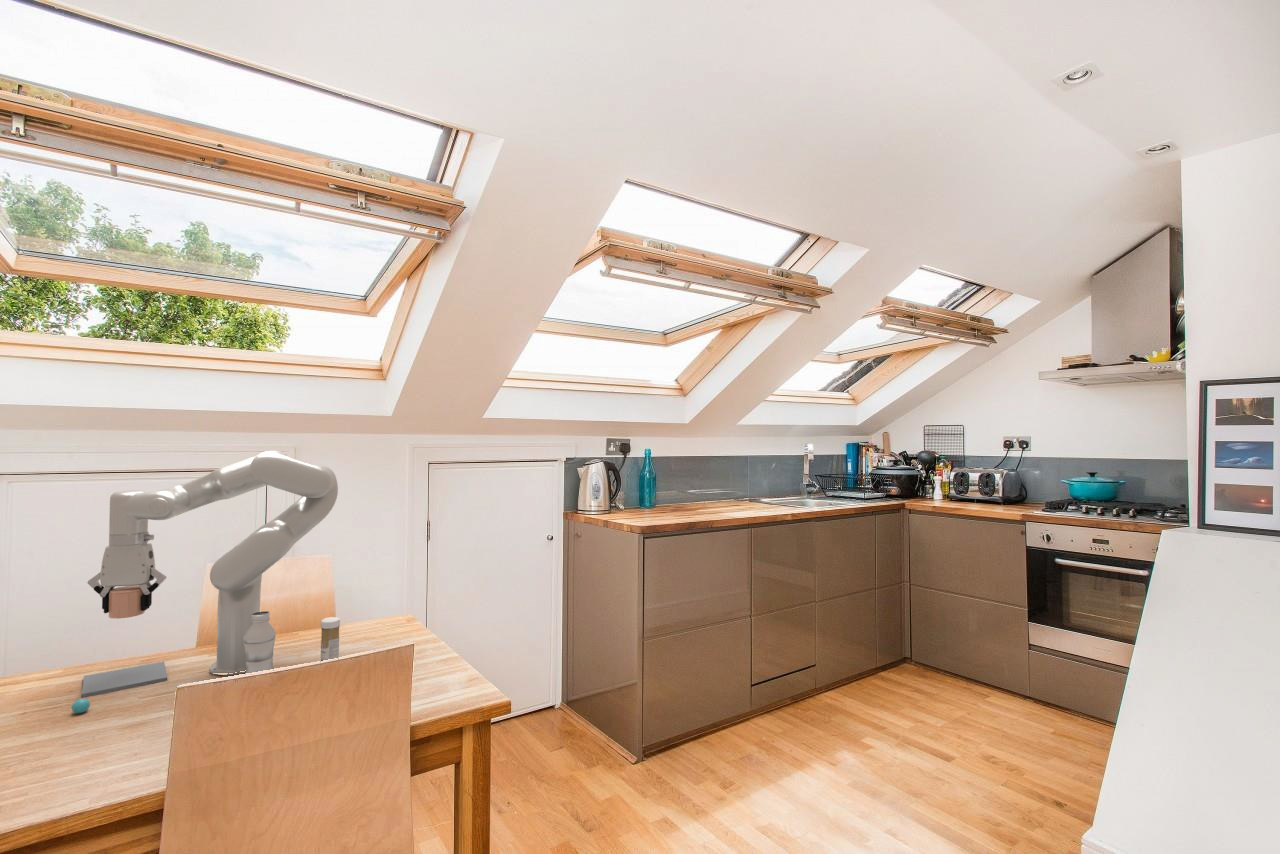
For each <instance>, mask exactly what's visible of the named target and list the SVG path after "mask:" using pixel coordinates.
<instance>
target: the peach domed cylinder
mask: <svg viewBox="0 0 1280 854" xmlns="http://www.w3.org/2000/svg"><path fill="white" fill-rule="evenodd" d="M142 595H143V591H142V590H141V588H140V587H139V585H133V586H117V587H114V589H111V590H110V593H109V612H108V618H110V619H116V620H117V619H118V620H119V619H126V618H127V619H128V618H133V617H137V616H140V615H143V614H144V613H146V612H145V611H146V610H145V611H142V610H141V596H142Z"/></svg>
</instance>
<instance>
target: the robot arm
mask: <svg viewBox="0 0 1280 854" xmlns="http://www.w3.org/2000/svg"><path fill="white" fill-rule="evenodd" d="M264 486H270V487H273V488H275V489H278V490H281V491H285V492H288V493H291V494H295V495H297V496H300V498H299V499H298V500H296V501H295V502H294V503H293V504H291V505H290V506H289V507H288V508H287V509H286V510H284V511H282V512H281V513H280V514H279V515H278V516H275V518H273V519H272V520H270V521H269V522H266V523H265V524H263V525H261V526H260V527H258V528H257V529H256V530H254V532H252V533H251V534H250V535H248V536H247V537H246V538H245V539H243V540H241V541H240V542H239V543H238V544H237V545H235V546H234V547H232V549H230V550H229V551H228V552H226V553H224V554H223V555H222V556H221V557H220V558H218V559H217V560H216V561H215V562H214V563H213V565H212V566H211V569H210V572H209V579H210V580H209V581H210V583H211V585H212V586H213V588H215V589H216V590H218V595H217V619H216V620H217V621H216V622H217V624H216V661H214V662H213V663H212V664H210V665H209V668H208V669H209V671H208V672H209V673H210V672H211V673H228V674H227V675H226V676H234V675H240V674H241V675H242V674H246V671H245V670H246V652H245V646H244V636H245V633H246V632H247V630H248V629H249V628H250V626H251V625H252V623H251V615H252V614H253V613H255V612H260V611H261V591H262V590H261V589H262V580H263V579H262V578H263V574H264V573H265V572H266V571H268V569H270V568H271V567H273V566H274V565H275V564H276V563H278V562H279V561H280V560H281V559H283V558H284V556H286V555H287V554H288V553H289V551H291V549H292V548H293V546H294V545H295V544H296V543H298V541H300V539H302V538H303V537H305V536H306V535H307V534H308V533H309V532H310V531H312V530H313V529H314V528H315V527H316V526H317V525H320V523H321V522H322V521H323V520H324V519H325V518H326V517H327V516H328V515H329V514H330V513H331V511H332V510H333V508H334V506H335V504H336V501H337V499H338V496H339V495H338V494H339V487H338V480H337V477H336V474H335V472H334V471H333V469H331V468H330V467H328V466H326V465H323V464H322V465H321V464H316V465H312V464H310V463H306V462H303V461H300V460H297V459H295V458H294V459H293V458H291V457H289V456H288V455H287V454H286V453H284V452H282V451H280V450H274V449H273V450H267V451H263V452H260V453H259V454H257V455H253V456H251V457H247V458H245V459H242V460H239V461H236V462H233V463H231V464H227V465H224V466H221V467H219V468H216V469H214V470H213V471H211V472H210V473H208V474H206V475H203V476H201V477H198V478H196V479H192V480H189V481H187V482H184V483H181V484H178V485H175V486H172V487H168V488H163V489H161V490H156V491H150V492H146V491H143V490H120V491H116V492H113V493H112V494H111V495H110V496H109V523H108V524H109V526H108V527H109V529H108V530H109V531H108V545H107V546H105V549H104V553H103V557H102V559H101V568H100V572H98V573H97V574H96V575H94V576H93V577H92V578H90V579H89V580H88V581H87V582H86V583H87V584H88V586H90V587H91V588H92V589H93V591H95V592H96V593H97V594H98V595H99V597H100V598H102V601H101V609H102V610H103V613H104V614H109V593H110V590H111V589H114V588H116V587H123V586H133V585H139V587H140V588H141V590H142V591H143V595H142V596H141V610H142V611H147V610H148V609H150V608H151V606H152V599H153V598H152V596H153V595H152V594H153V592H154V591H155V590H157V588H158V587H160V586H161V584H162V583H164V582H165V580H166V579H167V576H166V574H164V573H162V572H161V571H159V570H157V569H156V561H155V552H154V549H153V544H152V543H150V542H149V541H153V540H154V539H155V534H150V533H149V527H148V526H149V520H152V521H153V520H154V521H166V520H169V519H172V518H174V517H177V516H179V515H182V514H185V513H187V512H189V511H192V510H195V509H198V508H201V507H204V506H207V505H209V504H212V503H215V502H219V501H223V500H228V499H231V498H236V497H238V496H241V495H243V494H246V493H248V492H251V491H254V490H257V489H260V488H262V487H264ZM155 579H156V580H155ZM153 580H155V581H154V582H153V583H151V581H153ZM99 581H100V582H99ZM240 671H245V672H240ZM235 672H237V673H235ZM211 673H210V674H211ZM229 673H233V674H229ZM223 676H225V675H223Z"/></svg>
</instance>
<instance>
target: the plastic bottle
mask: <svg viewBox="0 0 1280 854" xmlns="http://www.w3.org/2000/svg"><path fill="white" fill-rule="evenodd" d="M270 614H271V613H270V611H269V610H260V612H255V613H253V614H252V615H251V623H252V625H251V626H250V628H249V629H248V630H247V632H246V633H245V636H244V646H245V652H246V673H252V672H258V671H263V670H270V669H273V670H274V647H275V641H276V635H277V633H276V630H275V628H274V627H273V625H272V624H271V623H270V620H271V617H270ZM246 673H245V674H246Z"/></svg>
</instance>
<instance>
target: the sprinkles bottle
mask: <svg viewBox="0 0 1280 854" xmlns="http://www.w3.org/2000/svg"><path fill="white" fill-rule="evenodd" d="M340 627H341V618H340V617H337V616H330V617H329V616H328V617H324V618H323V619H321V621H320V628H321V631H320V632H321V633H320V634H321V639H320V640H321V641H320V662H321V661H323V660H328V659H334V658H338V659H339V657H340Z"/></svg>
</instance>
